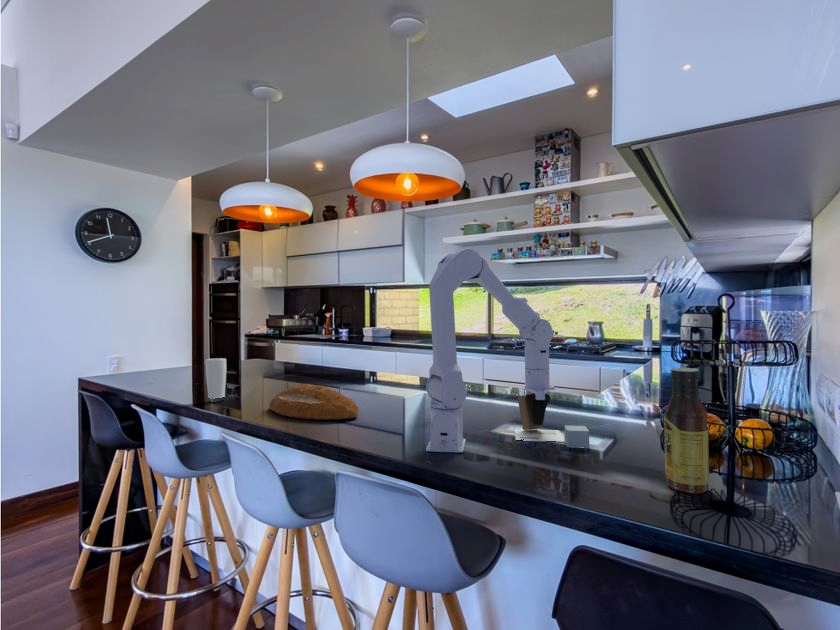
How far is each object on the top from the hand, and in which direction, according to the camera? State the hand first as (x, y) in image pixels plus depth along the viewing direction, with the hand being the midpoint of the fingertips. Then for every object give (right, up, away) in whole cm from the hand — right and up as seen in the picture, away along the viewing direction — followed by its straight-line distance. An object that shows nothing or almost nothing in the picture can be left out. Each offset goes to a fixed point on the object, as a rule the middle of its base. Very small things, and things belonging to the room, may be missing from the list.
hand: (538, 424), depth 109 cm
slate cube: (+6, -3, -10) cm, 12 cm away
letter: (0, -2, -1) cm, 3 cm away
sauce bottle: (+16, -2, -35) cm, 38 cm away
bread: (-62, -4, +28) cm, 68 cm away
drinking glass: (-100, -4, +49) cm, 112 cm away
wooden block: (-1, -2, +2) cm, 3 cm away
